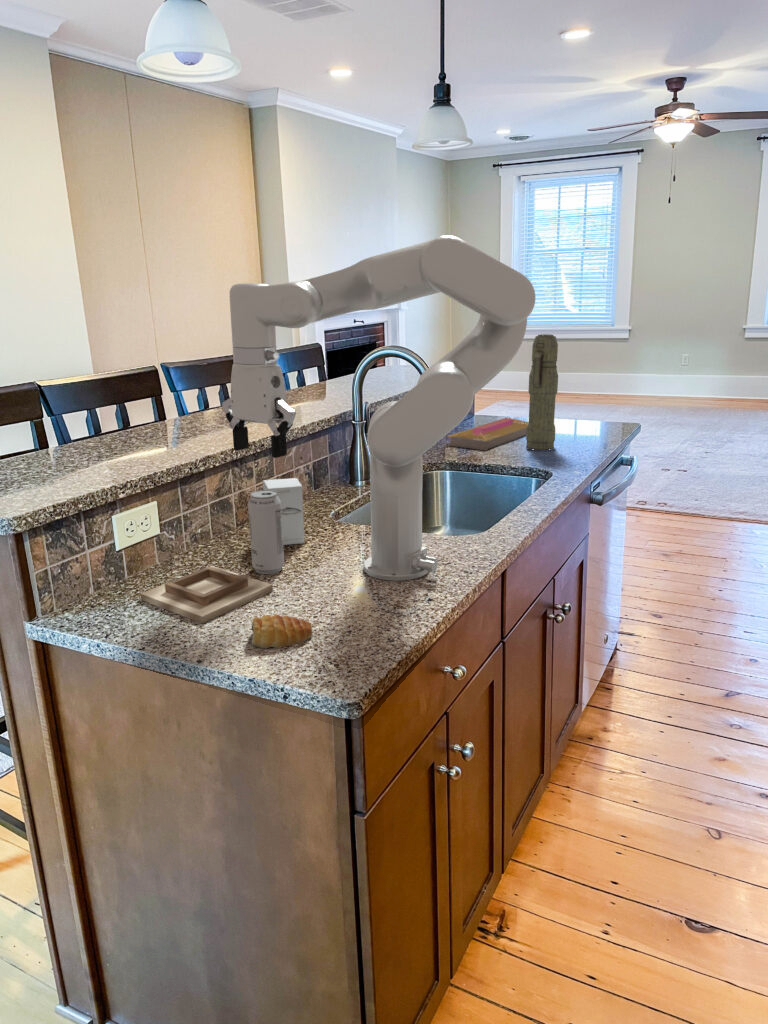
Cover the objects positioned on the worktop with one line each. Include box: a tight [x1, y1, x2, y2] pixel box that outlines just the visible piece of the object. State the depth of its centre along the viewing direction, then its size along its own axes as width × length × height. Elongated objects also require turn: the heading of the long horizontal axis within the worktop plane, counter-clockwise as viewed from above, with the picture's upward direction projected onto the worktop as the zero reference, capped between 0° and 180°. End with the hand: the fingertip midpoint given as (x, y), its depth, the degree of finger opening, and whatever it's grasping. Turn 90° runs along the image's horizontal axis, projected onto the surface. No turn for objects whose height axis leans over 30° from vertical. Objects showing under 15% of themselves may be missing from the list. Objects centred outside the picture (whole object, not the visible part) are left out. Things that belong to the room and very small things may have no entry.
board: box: [139, 565, 274, 624], centre depth 133 cm, size 16×16×3 cm
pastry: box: [251, 613, 313, 649], centre depth 117 cm, size 9×7×4 cm
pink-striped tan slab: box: [446, 417, 529, 451], centre depth 254 cm, size 35×14×6 cm, turn 143°
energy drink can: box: [247, 489, 285, 575], centre depth 142 cm, size 6×6×15 cm
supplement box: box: [262, 477, 306, 546], centre depth 159 cm, size 7×7×13 cm
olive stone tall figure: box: [525, 333, 559, 451], centre depth 236 cm, size 9×12×35 cm
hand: (260, 452), depth 138 cm, fingers open, 9 cm apart
